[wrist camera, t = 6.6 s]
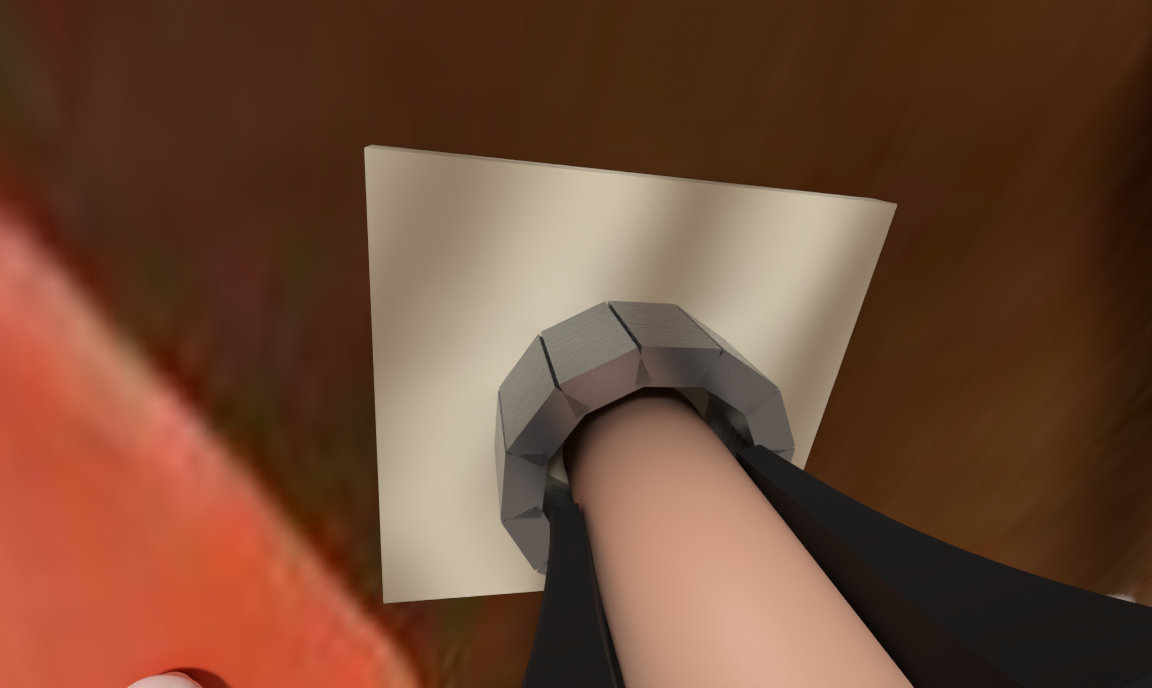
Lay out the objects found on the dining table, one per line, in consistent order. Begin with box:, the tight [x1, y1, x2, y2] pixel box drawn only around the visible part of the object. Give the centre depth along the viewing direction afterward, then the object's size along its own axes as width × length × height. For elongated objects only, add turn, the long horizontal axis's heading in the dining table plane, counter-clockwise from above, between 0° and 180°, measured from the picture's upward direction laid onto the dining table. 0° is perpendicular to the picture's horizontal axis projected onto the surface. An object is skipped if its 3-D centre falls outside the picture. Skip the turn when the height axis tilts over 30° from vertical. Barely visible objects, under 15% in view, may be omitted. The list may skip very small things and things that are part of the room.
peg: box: [563, 387, 914, 688], centre depth 11 cm, size 4×4×8 cm
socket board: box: [364, 145, 897, 603], centre depth 15 cm, size 14×14×4 cm
